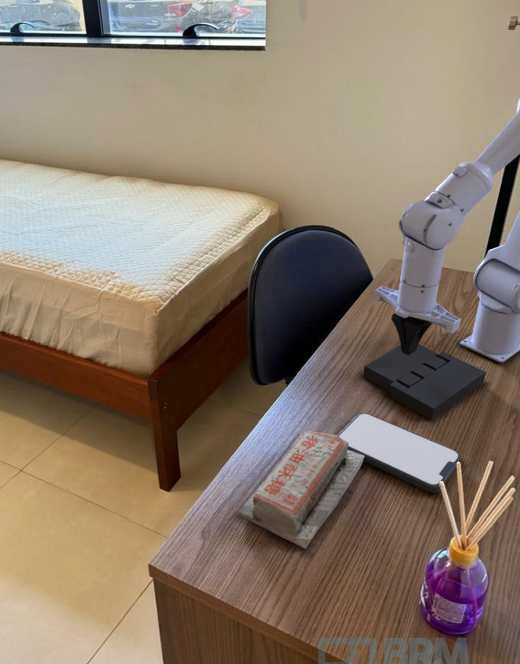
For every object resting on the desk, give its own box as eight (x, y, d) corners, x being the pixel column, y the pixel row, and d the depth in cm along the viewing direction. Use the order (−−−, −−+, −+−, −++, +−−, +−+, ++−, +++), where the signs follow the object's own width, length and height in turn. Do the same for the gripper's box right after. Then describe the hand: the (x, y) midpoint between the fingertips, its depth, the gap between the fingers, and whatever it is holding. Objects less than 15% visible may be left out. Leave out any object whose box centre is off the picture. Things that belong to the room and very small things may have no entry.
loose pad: (407, 350, 109) (409, 339, 108) (448, 370, 103) (451, 359, 102) (363, 377, 104) (364, 365, 102) (404, 400, 98) (406, 388, 96)
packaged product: (308, 526, 72) (237, 492, 78) (306, 552, 75) (238, 518, 80) (367, 438, 84) (302, 413, 89) (364, 463, 87) (301, 438, 92)
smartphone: (330, 448, 90) (436, 499, 80) (330, 440, 89) (438, 490, 80) (360, 417, 95) (463, 461, 86) (361, 409, 95) (465, 453, 85)
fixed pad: (440, 362, 106) (442, 351, 104) (483, 383, 100) (486, 371, 99) (388, 396, 99) (390, 384, 98) (431, 420, 93) (433, 408, 92)
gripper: (365, 271, 97) (357, 342, 104) (446, 305, 87) (432, 380, 94) (393, 258, 100) (384, 327, 108) (474, 288, 90) (458, 363, 98)
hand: (408, 351), depth 101 cm, fingers closed
